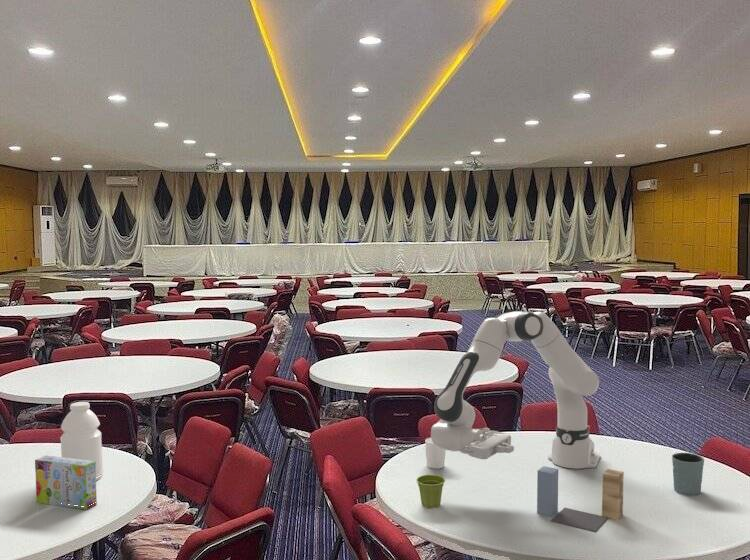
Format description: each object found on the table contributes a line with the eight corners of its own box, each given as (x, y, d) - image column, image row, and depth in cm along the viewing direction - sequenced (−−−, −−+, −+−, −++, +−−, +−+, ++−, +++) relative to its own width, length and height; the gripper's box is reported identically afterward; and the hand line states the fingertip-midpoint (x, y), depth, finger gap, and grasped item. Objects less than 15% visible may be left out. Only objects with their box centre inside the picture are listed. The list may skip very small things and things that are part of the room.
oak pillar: (606, 511, 232) (607, 468, 231) (622, 514, 229) (623, 471, 228) (602, 516, 228) (602, 473, 227) (617, 520, 225) (618, 476, 224)
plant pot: (437, 513, 231) (437, 486, 231) (411, 507, 236) (411, 481, 236) (449, 503, 239) (449, 477, 239) (424, 497, 244) (424, 472, 243)
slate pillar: (543, 507, 235) (543, 466, 234) (557, 511, 232) (558, 469, 231) (537, 513, 231) (537, 470, 230) (552, 516, 228) (552, 473, 227)
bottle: (53, 482, 261) (50, 406, 259) (82, 469, 274) (79, 397, 272) (83, 487, 256) (80, 410, 254) (111, 474, 269) (108, 400, 267)
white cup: (444, 469, 271) (444, 444, 270) (423, 468, 273) (423, 442, 272) (446, 463, 279) (446, 437, 278) (426, 461, 280) (426, 436, 280)
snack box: (98, 504, 241) (96, 460, 239) (86, 510, 235) (84, 465, 234) (47, 496, 248) (45, 454, 246) (35, 503, 242) (33, 459, 241)
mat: (564, 508, 234) (564, 507, 234) (607, 518, 226) (607, 517, 226) (550, 521, 224) (550, 520, 224) (595, 531, 216) (595, 531, 216)
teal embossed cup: (703, 488, 251) (704, 454, 250) (703, 498, 242) (704, 463, 241) (671, 484, 255) (672, 451, 254) (670, 493, 246) (671, 459, 245)
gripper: (459, 440, 236) (498, 448, 228) (487, 426, 253) (524, 433, 245) (459, 459, 236) (498, 467, 228) (487, 444, 253) (524, 451, 245)
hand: (512, 449), depth 237 cm, fingers closed
